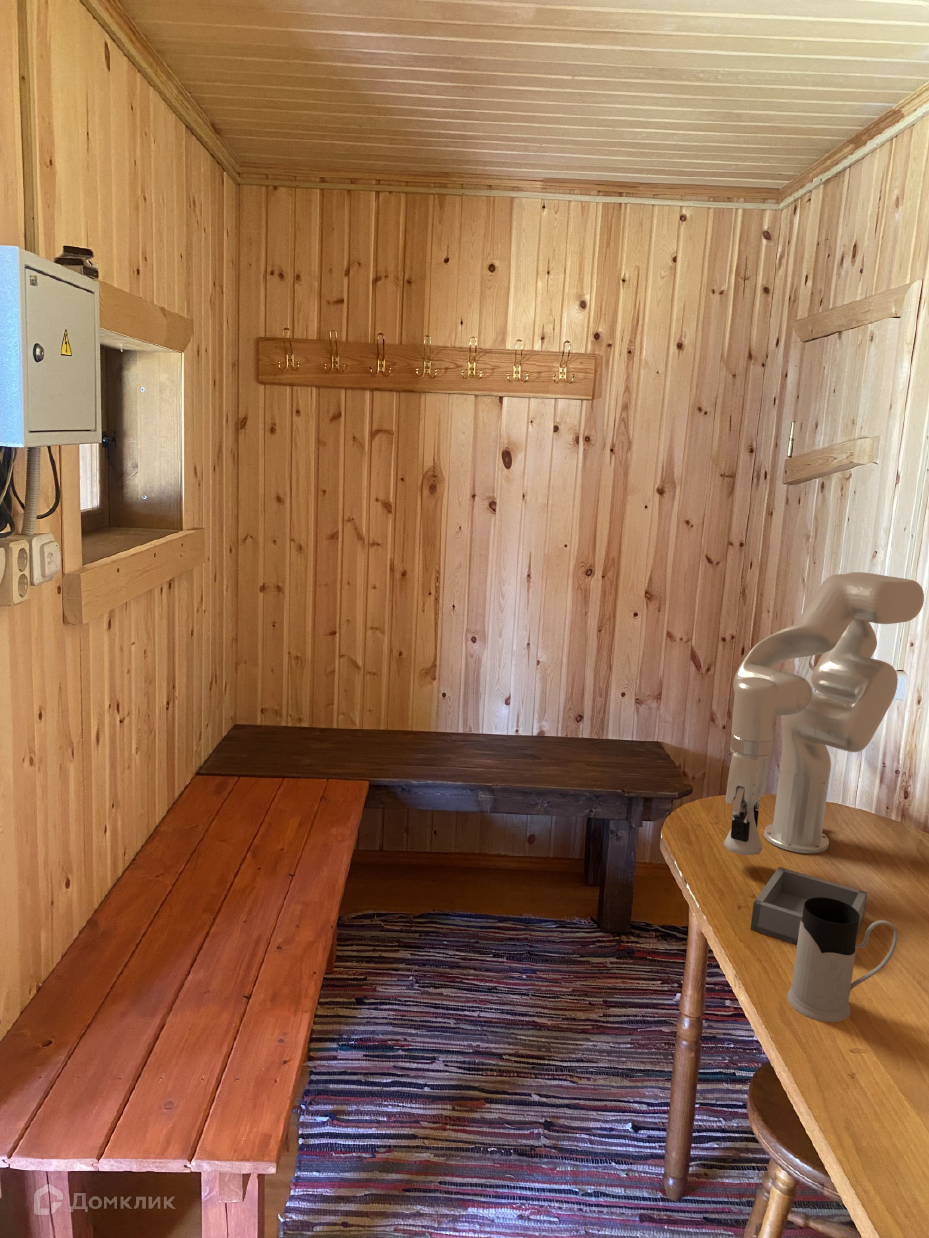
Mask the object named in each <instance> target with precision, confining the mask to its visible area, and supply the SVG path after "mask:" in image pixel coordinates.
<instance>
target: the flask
mask: <svg viewBox="0 0 929 1238" xmlns="http://www.w3.org/2000/svg"><path fill="white" fill-rule="evenodd" d="M742 804H743V805H747V803H746V802H743V803H742ZM753 809H754V806H753V807H752V808H750V813H749V819H748V821H749V822H750V828H749V840H748V841H747V842H744V841H740V840H736V839H732V838H731V829H730V830H729V831H728V834H727V836H726V837H725V839H724V841H723V846H724V847H725V848H726V850H727V851H728V852H731V853H735V854H738V855H743V856H752V855H754V856H755V855H760V854H761V852H762V850H763V844H762V841H761V838H760V834H759V832H758V826H757V827H756V823H755V819H754V811H753ZM741 810H742V812H744V814H745V810H746V809H742V808H741Z"/></svg>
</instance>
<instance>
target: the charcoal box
mask: <svg viewBox="0 0 929 1238" xmlns="http://www.w3.org/2000/svg"><path fill="white" fill-rule="evenodd" d="M867 896H868V891H864V890H861V889H857V888H854V887H851V886H848V885H844V884H839V883H837V882H834V881H830V880H826V879H824V878H819V877H815V876H813V875H809V874H805V873H802V872H798V871H795V870H791V869H788V868H784V867H780V866H778V867H777V869H776V870H775V872H774V873H773V874H772V876H771V877H770V878H769V880H768V882H767V883H766V884H765V886H764V887H763V889H761V891H760V893H759V895H757V897H756V898H755V900H754V901H753V905H752V913H751V923H750V928H749V929H750V930H751V931H754V932H757V933H760V934H763V935H765V936H769V937H772V938H775V939H778V940H781V941H784V942H787V943H790V944H794V945H796V946H797V943H798V935H799V928H800V921H801V920H802V915H803V908H804V902H805V901H806V900H808V899H810V898H815V897H824V898H831V899H835V900H839V901H842V902H844V903H846V904H848V905H850V906H852V907H853V908H854V909H856V911H857V912H858V913H859V916H860V918H859V924H858V931H857V933H858V932H859V929H860V927H861V926H862V923H863V920H864V916H865V909H866V903H867Z"/></svg>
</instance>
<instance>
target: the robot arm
mask: <svg viewBox="0 0 929 1238" xmlns="http://www.w3.org/2000/svg"><path fill="white" fill-rule="evenodd" d="M924 601H925V593H924V589H923V587H922V586H921V584H920V583H919V582H917V581H916V580H913V579H909V578H904V577H896V576H889V575H884V574H883V575H882V574H877V573H870V572H861V571H859V572H854V571H853V572H848V573H845V574H843V573H838V574H833V575H830V576H829V577H827V578H826V579H825V580H824V581H823V582H822V583H821V585H820V586H819V588H818V589H817V590H816V592H815V593H814V596H813V597H812V598H811V600H810V601H809V603H807V606H806V607H805V609H804V610H803V611H802V613H801V614H800V616H799V617H798V619H797V620H796V622H795V623H793V624H792V625H790V626H787V627H785V628H783V629H780V630H778V631H776V632H774V633H772V634H770V635H768V636H766V637H765V638H763V639H762V640H760V641H759V642H757V643H756V644H755V645H754V646H753V647H752V648H751V650H749V652H748V654H747V655H746V656H745V658H744V659H743V660H742V662H741V664H740V665H739V667H738V669H737V670H736V673H735V675H734V678H733V681H732V682H733V684H732V686H733V693H734V696H733V697H734V698H733V709H732V721H731V722H732V723H731V735H730V736H731V737H730V745H729V751H730V752H731V753H732V756H731V761H730V765H729V772H728V777H727V784H726V785H727V786H726V794H725V802H726V804H727V805H730V804H732V803H733V805H732V808H731V809H732V810H731V813H732V816H731V828H730V830H731V838H732V839H736V840H740V841H744V842H747V841H748V840H749V828H750V822H749V821H748V819H749V813H750V808H752V807H753V806H754V809H753V811H754V819H755V823H756V827H757V828H758V825H759V823H758V822H759V809H760V799H761V797H762V796H763V795H764V794H765V793H764V792H765V789H766V783H767V773H768V772H767V770H768V758H771V756H773V751H774V750H773V749H774V739H775V729H776V727H775V726H776V720H777V719H776V718H777V717H779V716H780V717H781V727H782V728H781V731H782V747H781V748H782V749H781V757H780V765H779V772H778V773H779V775H778V781H777V782H778V783H777V788H776V799H775V805H774V806H775V807H774V814H773V815H774V816H773V820H772V821H773V822H772V823H770V824H768V825H766V826H765V827H764V831H763V836H764V837H765V839H766V841H768V842H769V843H770V844H771V845H774V846H776V847H778V848H780V849H783V850H786V851H788V852H792V853H800V854H818V853H822V852H825V851H826V850H827V849H828V848H829V846H830V845H829V844H830V839H829V838H828V836H827V835H826V834H824V833H823V828H824V827H823V826H824V820H825V811H826V807H827V806H826V805H827V797H828V791H829V784H830V775H831V769H832V761H831V756H830V753H829V750H828V748H827V746H829V747H831V748H834V749H837V750H841V751H844V752H849V753H859V752H862V751H863V750H864V749H866V748H867V746H868V745H869V744H870V742H871V740H872V739H873V737H874V735H876V732H877V731H878V728H879V727H880V725H881V723H882V721H883V719H884V718H885V716H886V713H888V710H889V708H890V707H891V704H892V702H893V701H894V698H895V696H896V693H897V690H898V682H899V681H898V674H897V673H898V672H897V671H896V669H895V667H894V666H892V665H891V663H888V662H886V661H885V660H880V659H876V658H873V655H874V653H875V652H876V649H877V647H878V639H877V635H876V632H875V630H874V628H873V627H872V625H871V623H874V624H877V625H880V624H881V625H890V624H899V623H907V622H910V621H913V619H915V618H916V617H917V616H918V615H919V613H920V612H921V611H922V608H923V607H924V603H925V602H924ZM817 655H818V656H819V655H821V656H820V657H819V659H818V662H817V663H816V665H815V667H814V669H813V671H812V674H811V678H810V679H811V684H810V682H809V681H808V680H807V679H806V678H804V677H803V676H800V675H798V674H795V673H791V672H790V673H789V672H787V671H783V670H780V669H776V668H773V667H774V666H775V665H777V664H779V663H781V662H784V661H789V660H791V659H792V660H793V659H797V658H804V657H805V658H807V657H813V656H817ZM811 685H812V686H811ZM812 687H813V688H814V689H815V690H816V691H817V692H816V691H813V688H812ZM743 802H746V803H747V805H743V804H742V803H743ZM741 808H742V809H746V810H745V814H744V812H742V810H741Z"/></svg>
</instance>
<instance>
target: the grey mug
mask: <svg viewBox="0 0 929 1238" xmlns="http://www.w3.org/2000/svg"><path fill="white" fill-rule="evenodd" d="M859 918H860V916H859V913H858V912H857V911H856V909H854V908H853V907H852V906H850V905H848V904H846V903H844V902H842V901H839V900H835V899H831V898H824V897H815V898H810V899H808V900H806V901H805V902H804V908H803V915H802V920H801V921H800V928H799V935H798V943H797V945H796V952H795V958H794V959H795V960H794V966H793V973H792V981H791V986H790V989H789V990H788V992H787V993H786V994H787V995H786V996H787V997H786V998H787V1002H788V1003H789V1004H790V1005H789V1006H791V1007H792V1008H793V1009H794V1010H796V1011H797V1012H798V1013H800V1014H801V1015H803V1016H805V1017H807V1018H809V1019H811V1020H815V1021H819V1022H824V1023H839V1022H843V1021H845V1020H848V1018H849V1017H850V1015H851V1011H852V1010H851V1006H850V1003H849V1002H850V1001H849V1000H850V995H851V991H852V990H853V989H854V988H855V987H857V986H858V985H860V984H862V983H863V982H865V981H866V980H868V979H870V978H871V977H873V976H874V975H875V974H878V973H879V972H880V971H882V970H883V969H884V967H886V965H887V964H888V963H889V961H890V960H891V958H892V957H893V955H894V952H895V951H896V950H895V949H896V948H897V944H898V939H899V937H898V930H897V928H896V926H895V925H894V924H893V923H892V922H890V921H887V920H876V921H874V922H872V923H871V924H869V926H868V927H867V929H866V931H865V933H864V939H863V941H862V942H861V943H858V944H857V936H858V932H859V929H858V924H859ZM880 925H887V926H890V927H891V928H892V930H893V939H892V943H891V946H890V948H889V951H888V953H887V954H886V956H885V957H884V958H883V960H882V961H881V962H880V963H879V964H878V965H877V966H875V967H874V968H873V969H871V970H870V971H868V972H867V973H865V974H864V975H862V976H861V977H859V978H857V979H856V980H854V981H852V980H853V973H854V967H855V960H856V954H857V953H856V952H857V949H863V948H865V947H866V946H867V945H868V943H869V939H870V935H871V932H872V931H873V930H874V929H875V928H876V927H878V926H880ZM857 931H858V932H857Z"/></svg>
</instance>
